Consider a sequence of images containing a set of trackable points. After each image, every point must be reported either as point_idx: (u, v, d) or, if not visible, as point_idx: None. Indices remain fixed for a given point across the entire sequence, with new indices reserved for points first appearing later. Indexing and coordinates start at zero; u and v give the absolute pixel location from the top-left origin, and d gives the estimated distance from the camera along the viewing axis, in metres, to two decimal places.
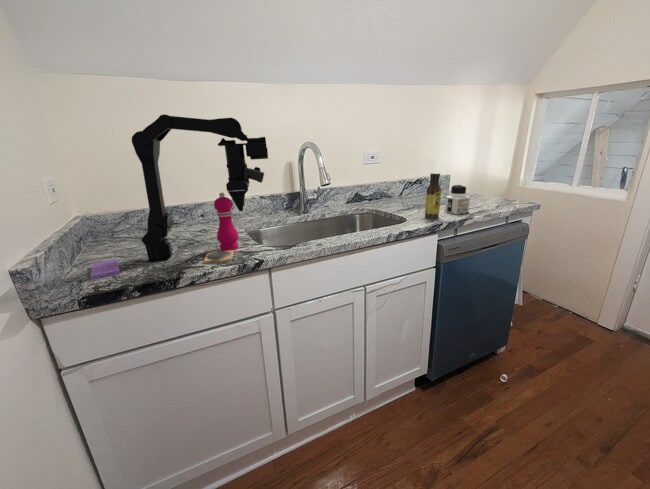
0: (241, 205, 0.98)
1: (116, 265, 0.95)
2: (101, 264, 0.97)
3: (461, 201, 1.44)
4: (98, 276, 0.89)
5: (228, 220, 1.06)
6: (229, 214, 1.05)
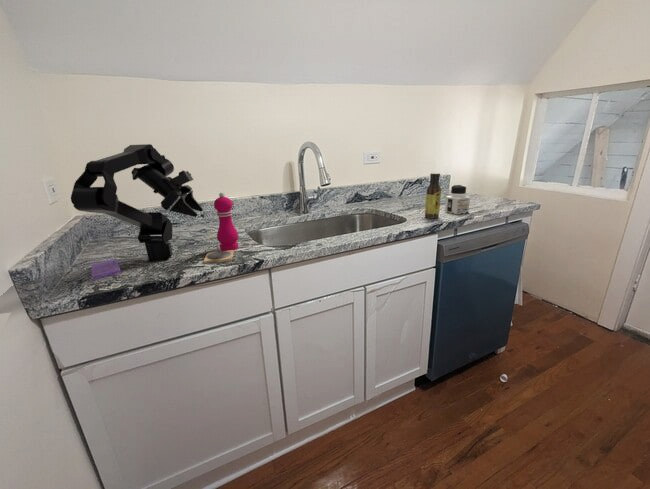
0: (191, 211, 0.99)
1: (116, 265, 0.95)
2: (101, 264, 0.97)
3: (461, 201, 1.44)
4: (99, 276, 0.89)
5: (228, 220, 1.06)
6: (229, 214, 1.05)
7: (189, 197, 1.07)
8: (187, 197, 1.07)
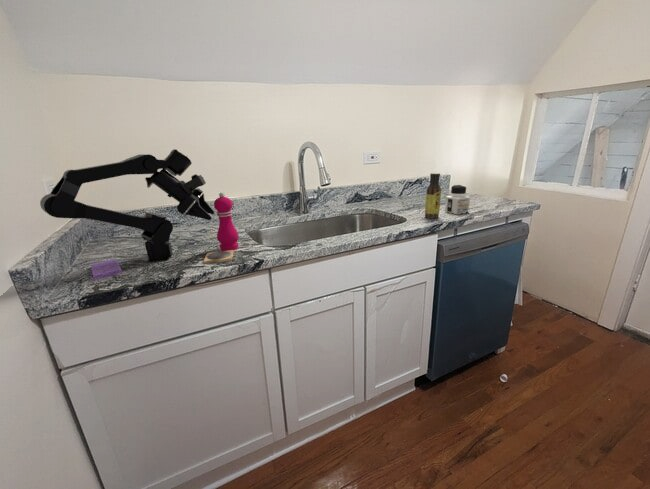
0: (206, 214, 1.00)
1: (117, 265, 0.95)
2: (101, 264, 0.96)
3: (461, 201, 1.44)
4: (100, 276, 0.89)
5: (228, 220, 1.06)
6: (229, 214, 1.05)
7: (201, 200, 1.08)
8: (199, 200, 1.08)
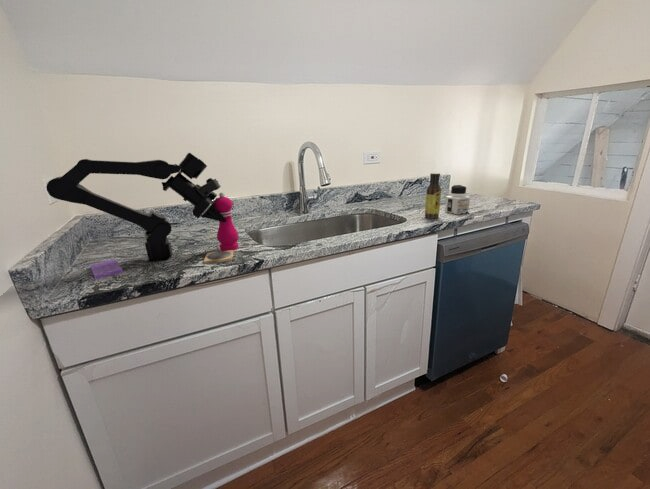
0: (221, 217, 1.03)
1: (117, 264, 0.95)
2: (100, 264, 0.96)
3: (461, 201, 1.44)
4: (102, 276, 0.89)
5: (228, 220, 1.06)
6: (229, 214, 1.05)
7: None
8: None
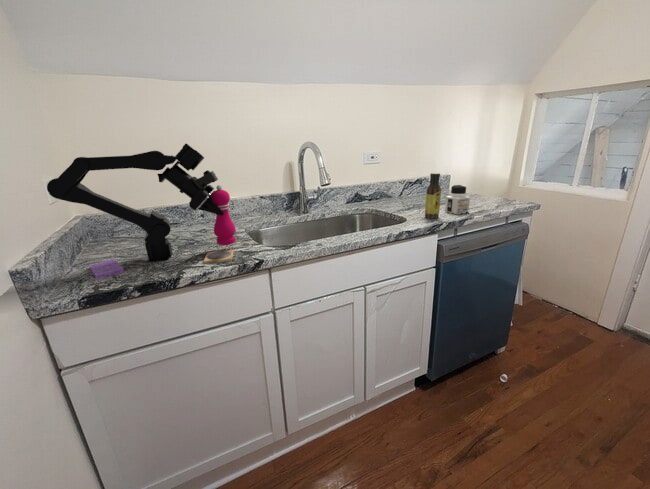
0: (218, 210, 1.01)
1: (117, 264, 0.96)
2: (100, 264, 0.96)
3: (461, 201, 1.44)
4: (103, 275, 0.89)
5: (225, 214, 1.04)
6: (226, 207, 1.03)
7: None
8: None
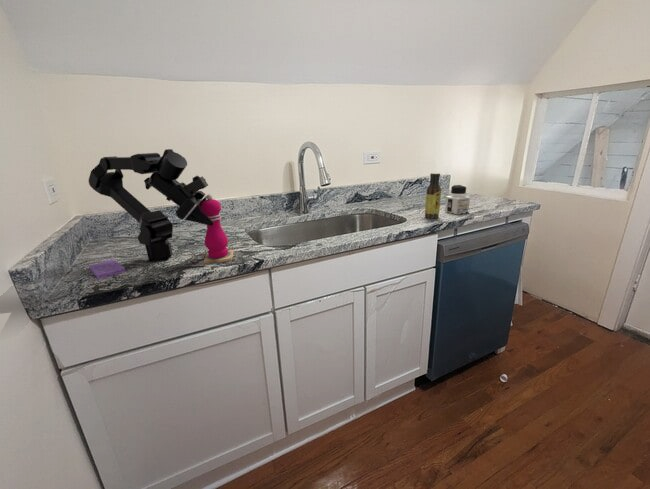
0: (207, 220, 0.92)
1: (118, 264, 0.96)
2: (100, 265, 0.96)
3: (461, 201, 1.44)
4: (105, 275, 0.89)
5: (216, 225, 0.97)
6: (217, 218, 0.97)
7: None
8: None
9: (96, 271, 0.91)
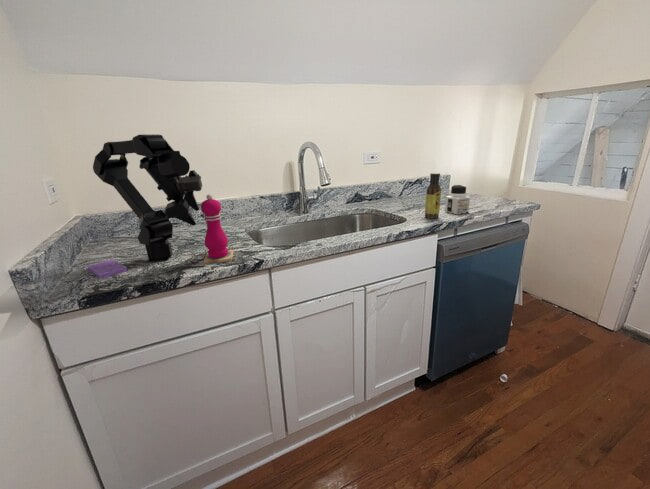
0: (191, 220, 0.96)
1: (118, 264, 0.96)
2: (99, 265, 0.96)
3: (461, 201, 1.44)
4: (107, 275, 0.90)
5: (216, 225, 0.97)
6: (217, 218, 0.97)
7: (189, 194, 1.02)
8: (187, 193, 1.01)
9: (97, 271, 0.91)
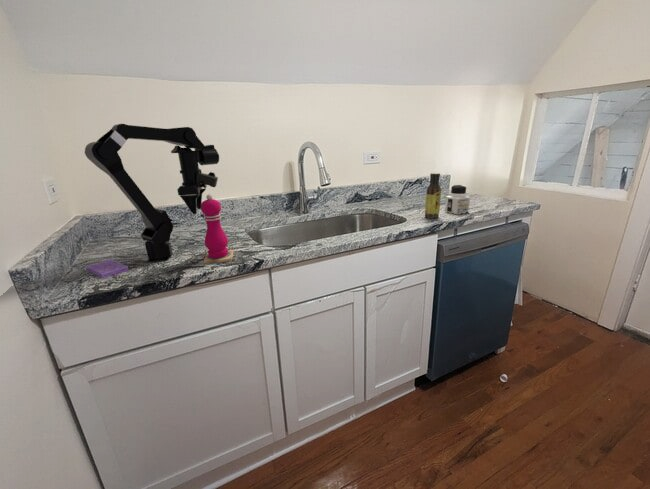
0: (194, 208, 1.05)
1: (119, 263, 0.96)
2: (99, 265, 0.96)
3: (461, 201, 1.44)
4: (109, 274, 0.90)
5: (216, 225, 0.97)
6: (217, 218, 0.97)
7: (199, 192, 1.13)
8: None
9: (99, 271, 0.91)
